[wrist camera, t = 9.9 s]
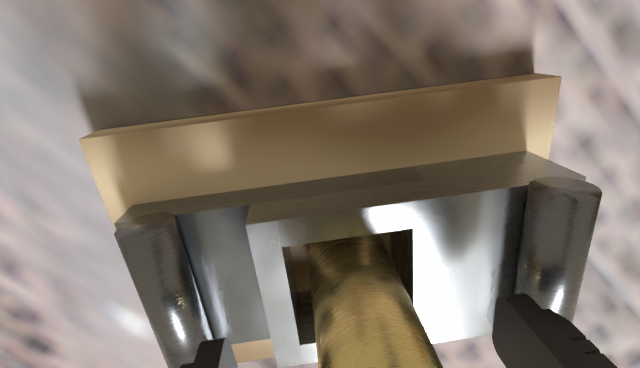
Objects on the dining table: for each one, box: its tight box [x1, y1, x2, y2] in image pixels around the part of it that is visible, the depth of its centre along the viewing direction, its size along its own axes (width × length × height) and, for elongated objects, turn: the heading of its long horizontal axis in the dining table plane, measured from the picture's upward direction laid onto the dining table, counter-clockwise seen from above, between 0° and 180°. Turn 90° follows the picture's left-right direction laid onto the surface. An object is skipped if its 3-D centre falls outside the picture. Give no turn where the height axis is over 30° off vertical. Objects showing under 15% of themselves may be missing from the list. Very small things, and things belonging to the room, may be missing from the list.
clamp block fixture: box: [79, 73, 602, 368], centre depth 13 cm, size 12×18×6 cm, turn 96°
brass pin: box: [307, 233, 443, 368], centre depth 11 cm, size 3×3×9 cm
